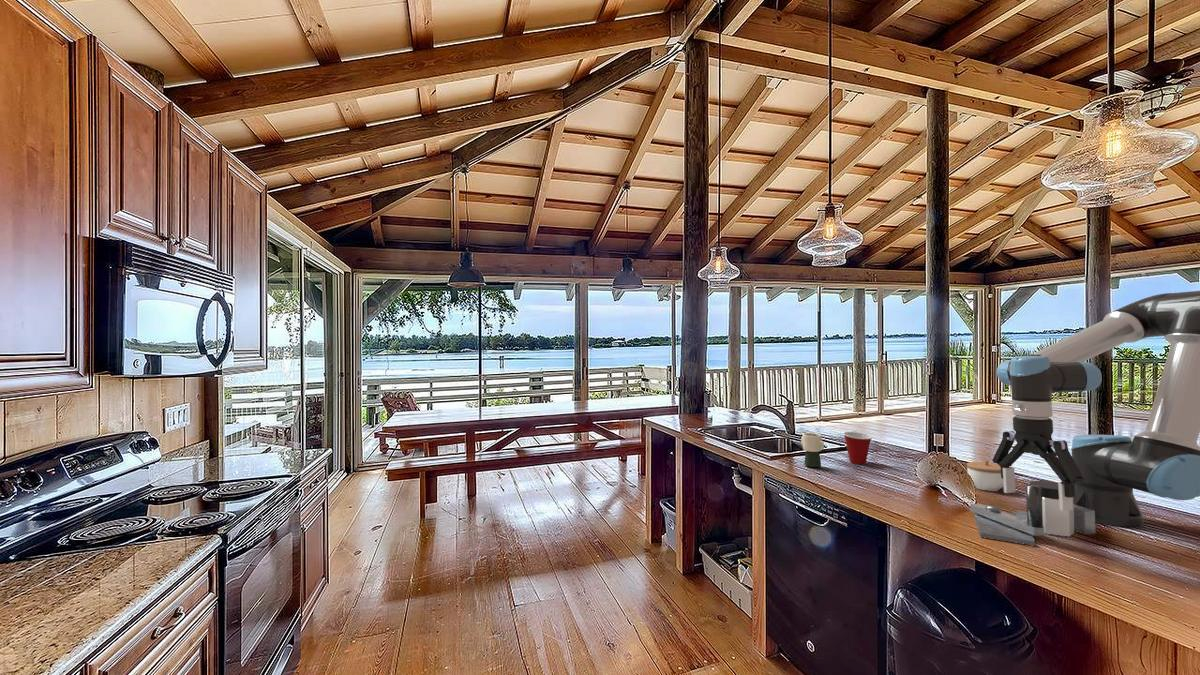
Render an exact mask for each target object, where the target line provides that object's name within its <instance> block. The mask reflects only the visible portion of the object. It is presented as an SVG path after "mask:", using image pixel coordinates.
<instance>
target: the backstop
mask: <svg viewBox="0 0 1200 675" xmlns="http://www.w3.org/2000/svg"><path fill="white" fill-rule="evenodd" d="M1074 530H1075V531H1074V532H1076V531H1078V532H1077V533H1079V532H1081V533H1080V534H1082V533H1083V534H1082V535H1085V534H1088V535H1095V534H1096V522H1095V511H1094V510H1091V509H1088V508H1084V507H1081V506H1078V505H1074Z"/></svg>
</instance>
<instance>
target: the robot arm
mask: <svg viewBox="0 0 1200 675" xmlns="http://www.w3.org/2000/svg"><path fill="white" fill-rule="evenodd" d="M1153 337H1163V338H1164V339H1165V341H1167V342H1168V343H1169V344H1170V347H1169V351H1168V354H1167V357H1166V359H1165V364H1164V366H1163V370H1162V373H1161V377H1160V380H1159V383H1158V386H1157V389H1156V394H1155V395H1154V396H1155V397H1154V399H1153V403H1152V407H1151V410H1150V413H1149V416H1148V420H1147V424H1146V426H1145V430H1143V431H1142V432H1140V433H1137V434H1134V435H1133V439H1132V438H1131V437H1130V436H1128V435H1119V434H1118V435H1115V434H1078V435H1075V436H1074V437H1072V440H1071V441H1072V442H1071V448H1070V450H1071V452H1070V451H1069V446H1068V442H1067V441H1066V440H1065V439H1064V440H1063V439H1062V440H1053V437H1052V435H1053V433H1054V420H1053V419H1052V418H1051V417H1053V414H1054V413H1053V404H1052V402H1053V401H1052V397H1053V395H1052V394H1054V393H1076V392H1077V393H1083V392H1090V391H1094V390H1096V389H1098V388H1099V387H1100V386H1101V384H1102V381H1103V378H1102V377H1103V376H1102V372H1101V370H1100V368H1098V366H1096V365H1095V364H1094V363H1091V362H1089V361H1088V360H1090V359H1093V358H1094V357H1097V356H1099V355H1100V354H1103V353H1105V352H1108V351H1109V350H1111V349H1114V348H1116V347H1118V346H1120V345H1123V344H1125V343H1136V342H1138V341H1140V340H1143V339H1147V338H1153ZM996 377H997V379H998V380H999V381H1000V382H1001V383H1002V384H1004V385H1007V386H1010V389H1011V391H1010V392H1011V406H1012V414H1013V415H1014V416H1013V417H1012V429H1013V430H1010V431H1008V430H1007V431H1003V432H1002V440H1000V444H999V446H998V448H997V450H996V452H995V454H994V455H993V458H992V460H991V461H992V463H994V464H998V465H999V466H1000V467H1001V478H1002V479H1003V484H1004V486H1003V493H1005V494H1011V493H1016V480H1015V476H1016V474H1015V467H1013V465H1014V463H1015V462H1017V460H1018V459H1020V457H1022V455H1023V454H1025V453H1026V454H1032V455H1034V456H1035V455H1036V456H1039V457H1040V458H1042V459H1043V461H1045V462H1046V463H1047V465H1048V466H1049V467H1050V468H1051V469H1052V471H1053V473H1054V474H1055V475H1056V476H1057V477H1058V478H1059V480H1060V482H1057V483H1058V488H1059V507H1060V510H1062V511H1066V510H1073V506H1072V497H1073V503H1074V505H1078V506H1081V507H1084V508H1088V509H1091V510H1094V511H1095V523H1097V524H1098V523H1099V524H1103V525H1104V524H1105V525H1110V526H1117V527H1141V526H1143V525H1145V524H1144V514H1143V512H1142V510H1141V508H1140V505H1139V504H1138V501H1137V499H1136V498H1135V495H1134V490H1136V491H1140V492H1144V493H1148V494H1152V495H1154V496H1157V497H1160V498H1165V499H1167V498H1168V499H1172V500H1176V501H1190V500H1193V499H1195V498H1198V497H1200V445H1198V440H1199V437H1200V290H1194V291H1193V290H1190V291H1181V292H1174V293H1173V292H1169V293H1167V292H1166V293H1160V294H1159V293H1158V294H1155V295H1151V296H1148V297H1144V298H1142V299H1139V300H1137V301H1134V302H1131V303H1129V304H1127V305H1124V306H1122V307H1119V308H1117V309H1115V310H1113V311H1110V312H1109V313H1107V314H1106V315H1105V316H1104V317H1103V319H1102V320H1101V321H1099V322H1097V323H1094V324H1093V325H1091V326H1089V327H1086V328H1084V329H1082V330H1080V331H1078V332H1076V333H1074V334H1071V335H1069V336H1067V337H1064V338H1063V339H1061V340H1059V341H1057V342H1054V343H1052V344H1051V345H1049V346H1046V347H1044V348H1042V349H1039V350H1038V351H1036V352H1033V353H1032V354H1029V355H1026V356H1025V355H1023V356H1022V355H1019V356H1018V355H1017V356H1013V357H1012V358H1011V359H1007V360H1003V361H1001V362H1000V363H999V364H998V366H997V368H996ZM1015 441H1016V444H1015V445H1013V444H1014V442H1015ZM1011 448H1012V449H1011Z"/></svg>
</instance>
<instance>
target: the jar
mask: <svg viewBox="0 0 1200 675" xmlns="http://www.w3.org/2000/svg"><path fill="white" fill-rule="evenodd" d="M1058 483H1059V482H1054V481H1048V480H1047V481H1046V480H1032V481H1030V482H1029V484H1031V485H1038V486H1041V487H1042V510H1043V526H1044V534H1045V533H1046V534H1045V535H1049V534H1054V535H1053V536H1057V535H1060V536H1059V537H1065V536H1067V537H1066V538H1069V537H1071V536H1072V535H1073V534H1074V533H1075V531H1074V503H1073V497H1072V506H1073V510H1066V511H1062V510H1060V507H1059V488H1058Z"/></svg>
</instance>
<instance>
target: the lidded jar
mask: <svg viewBox="0 0 1200 675" xmlns="http://www.w3.org/2000/svg"><path fill="white" fill-rule="evenodd" d="M966 469H967V475H968V474H969V475H970V476H971V478H972V480H973V482H974V484H973V485H974V486H975V488H976V489H978V490H981V491H986V490H987V492H999V491H1000V489H1002V488H1004V484H1003V479H1002V478H1001V467H1000V466H999V465H998V464H997V463H994V462H989V460H984V462H983V461H969V462H966ZM998 490H999V491H998Z"/></svg>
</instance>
